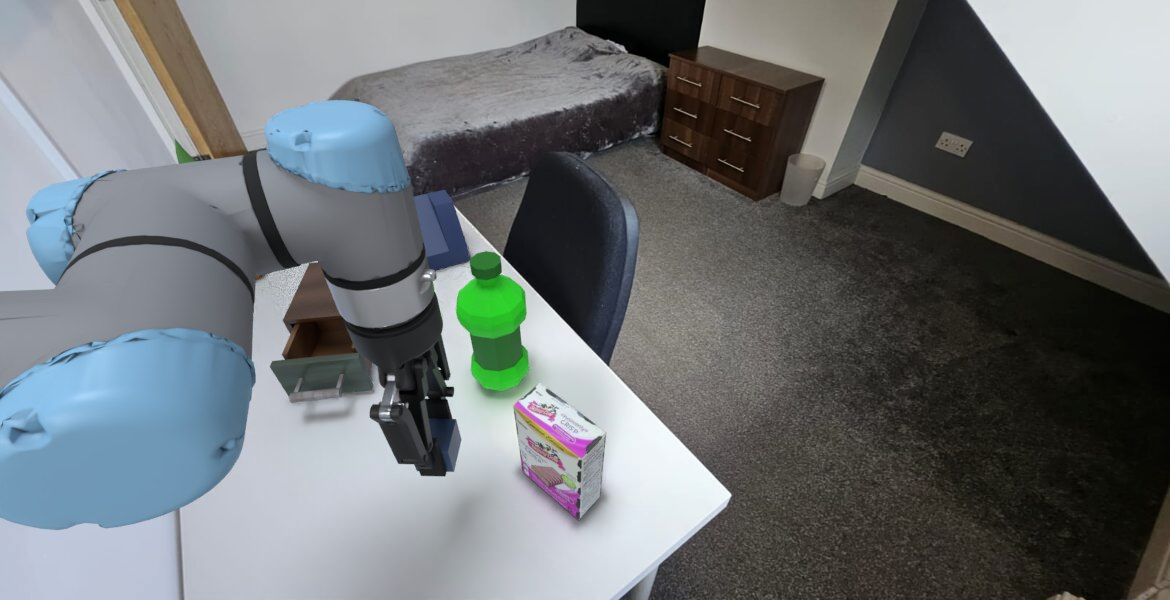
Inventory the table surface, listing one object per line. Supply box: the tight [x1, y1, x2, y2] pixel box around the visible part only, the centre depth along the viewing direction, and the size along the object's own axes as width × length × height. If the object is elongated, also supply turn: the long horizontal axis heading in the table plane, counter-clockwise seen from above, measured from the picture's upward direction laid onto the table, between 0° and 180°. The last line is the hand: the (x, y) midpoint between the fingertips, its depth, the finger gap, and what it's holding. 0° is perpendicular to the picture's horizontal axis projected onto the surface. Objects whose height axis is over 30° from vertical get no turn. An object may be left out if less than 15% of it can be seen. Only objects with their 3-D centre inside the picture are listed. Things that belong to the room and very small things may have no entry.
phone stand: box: [413, 189, 470, 271], centre depth 103 cm, size 12×12×12 cm
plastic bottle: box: [455, 250, 530, 392], centre depth 72 cm, size 10×10×25 cm
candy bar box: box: [512, 382, 607, 521], centre depth 61 cm, size 11×5×16 cm, turn 50°
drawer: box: [269, 319, 374, 404], centre depth 77 cm, size 19×13×8 cm, turn 9°
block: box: [413, 418, 462, 473], centre depth 53 cm, size 4×4×4 cm
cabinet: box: [282, 261, 343, 335], centre depth 86 cm, size 16×14×10 cm
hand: (439, 453), depth 54 cm, fingers closed on block, 4 cm apart
